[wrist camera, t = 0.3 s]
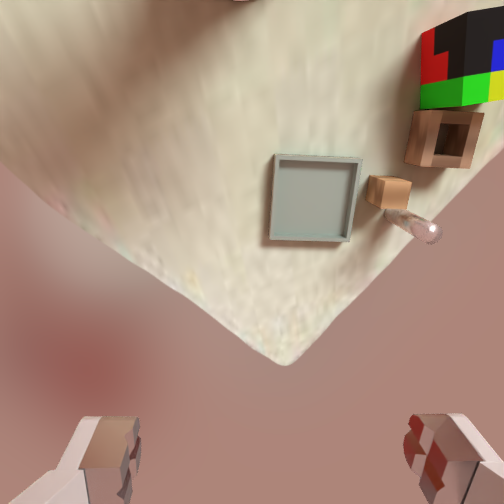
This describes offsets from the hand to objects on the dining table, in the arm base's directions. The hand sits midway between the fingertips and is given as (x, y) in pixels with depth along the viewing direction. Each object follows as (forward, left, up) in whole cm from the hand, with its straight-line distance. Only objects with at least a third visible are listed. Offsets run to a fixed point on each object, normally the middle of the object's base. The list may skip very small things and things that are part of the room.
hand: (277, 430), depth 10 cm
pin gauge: (+4, +26, -47) cm, 54 cm away
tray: (+2, +12, -47) cm, 48 cm away
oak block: (0, +23, -47) cm, 52 cm away
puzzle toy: (-18, +31, -47) cm, 59 cm away
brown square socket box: (-8, +30, -47) cm, 56 cm away
